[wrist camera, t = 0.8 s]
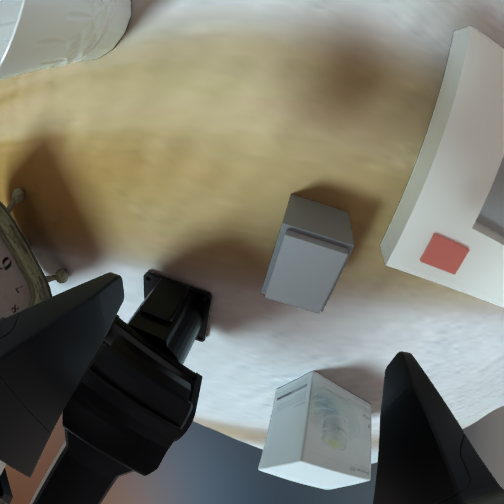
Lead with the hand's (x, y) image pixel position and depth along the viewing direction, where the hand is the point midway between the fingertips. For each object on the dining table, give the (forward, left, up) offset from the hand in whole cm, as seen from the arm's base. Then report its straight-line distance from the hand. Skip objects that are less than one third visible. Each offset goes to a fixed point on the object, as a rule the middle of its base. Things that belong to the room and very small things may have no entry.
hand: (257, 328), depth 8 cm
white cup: (+10, +17, -12) cm, 23 cm away
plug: (-3, -2, -12) cm, 13 cm away
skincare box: (-22, -11, -12) cm, 27 cm away
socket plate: (+6, -15, -12) cm, 20 cm away
